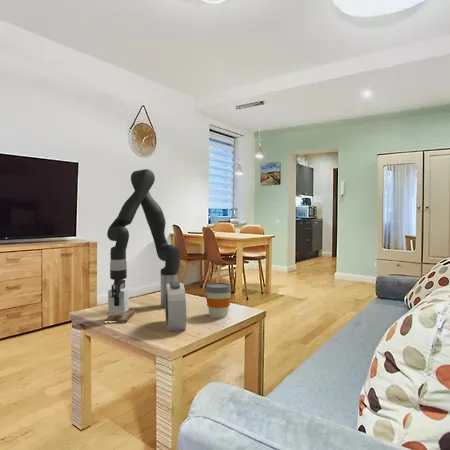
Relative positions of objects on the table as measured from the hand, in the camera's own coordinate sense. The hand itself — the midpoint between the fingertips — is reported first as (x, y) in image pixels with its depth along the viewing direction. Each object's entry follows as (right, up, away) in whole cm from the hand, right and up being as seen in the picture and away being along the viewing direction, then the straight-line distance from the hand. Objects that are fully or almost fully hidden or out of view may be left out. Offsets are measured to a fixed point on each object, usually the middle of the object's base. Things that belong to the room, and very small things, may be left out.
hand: (118, 303), depth 169 cm
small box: (0, -4, 0) cm, 4 cm away
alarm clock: (+28, -8, -10) cm, 31 cm away
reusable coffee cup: (+47, -7, +6) cm, 48 cm away
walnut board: (0, -7, +5) cm, 9 cm away
